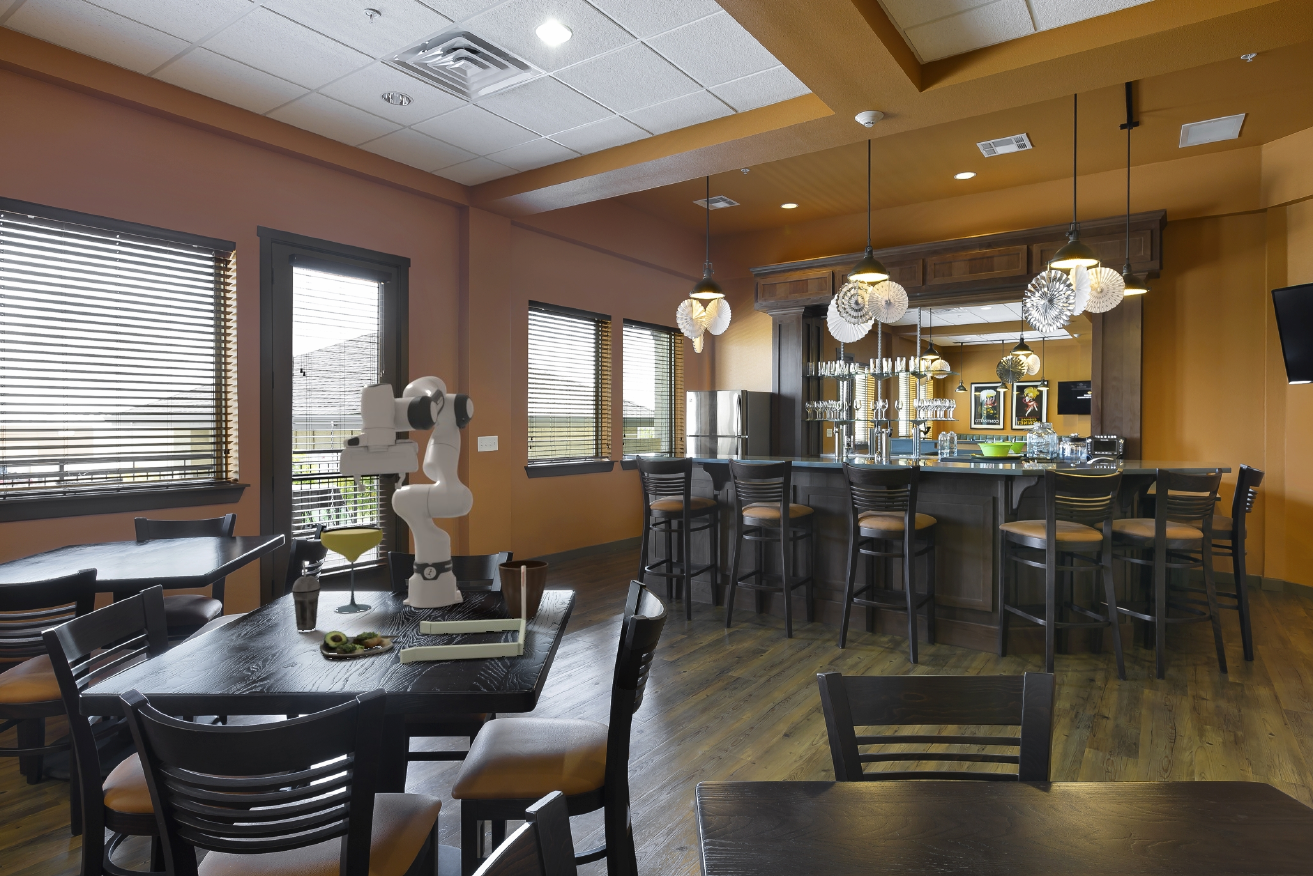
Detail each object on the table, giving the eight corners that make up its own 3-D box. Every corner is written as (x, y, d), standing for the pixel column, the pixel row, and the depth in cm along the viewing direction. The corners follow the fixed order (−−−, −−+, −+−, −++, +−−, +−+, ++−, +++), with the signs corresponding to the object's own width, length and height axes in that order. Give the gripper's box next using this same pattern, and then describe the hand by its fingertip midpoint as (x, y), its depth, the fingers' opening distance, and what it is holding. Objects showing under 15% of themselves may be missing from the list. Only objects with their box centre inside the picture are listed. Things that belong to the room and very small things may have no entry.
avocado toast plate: (392, 635, 196) (392, 618, 196) (408, 651, 181) (408, 633, 181) (315, 646, 185) (315, 629, 185) (326, 665, 170) (326, 646, 170)
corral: (420, 631, 198) (420, 567, 198) (526, 627, 202) (526, 564, 202) (399, 664, 170) (399, 589, 170) (522, 658, 174) (522, 585, 174)
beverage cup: (326, 627, 202) (325, 558, 202) (311, 634, 195) (310, 562, 195) (302, 627, 203) (301, 557, 203) (286, 634, 195) (285, 562, 195)
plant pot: (509, 609, 222) (509, 559, 222) (555, 611, 220) (554, 560, 220) (490, 622, 207) (490, 568, 207) (538, 624, 205) (538, 569, 205)
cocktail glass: (325, 604, 229) (325, 528, 229) (385, 600, 235) (384, 525, 235) (316, 618, 212) (316, 535, 212) (381, 613, 217) (380, 532, 217)
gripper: (419, 439, 199) (421, 488, 198) (342, 443, 196) (344, 493, 194) (416, 437, 193) (418, 487, 192) (337, 441, 189) (338, 492, 188)
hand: (380, 490), depth 193 cm, fingers open, 8 cm apart
